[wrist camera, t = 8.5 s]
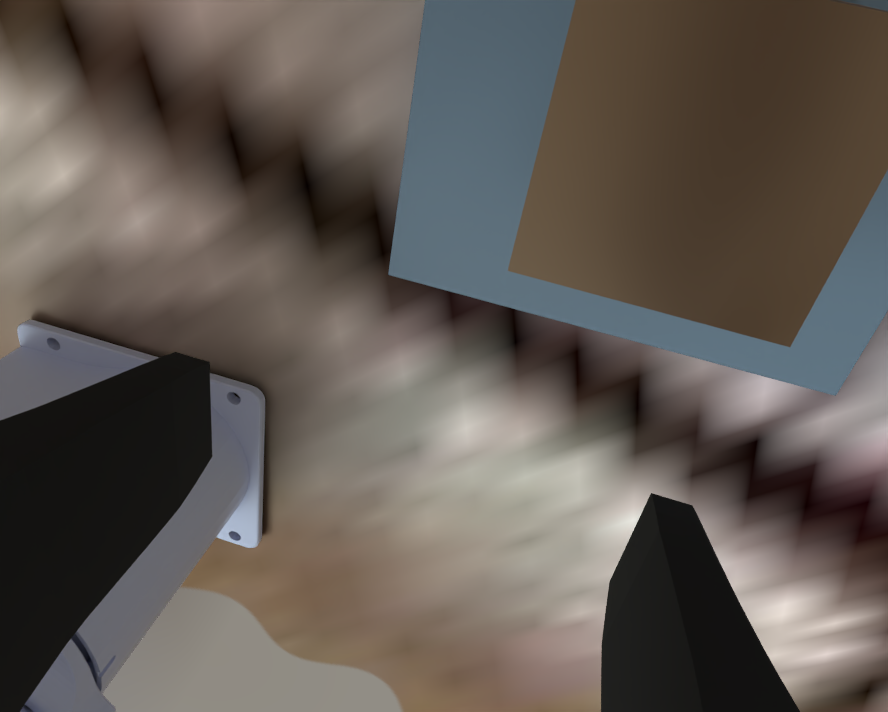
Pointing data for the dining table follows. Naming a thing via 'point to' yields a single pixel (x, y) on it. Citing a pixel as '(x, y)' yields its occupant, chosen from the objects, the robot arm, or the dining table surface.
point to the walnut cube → (709, 156)
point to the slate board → (507, 181)
